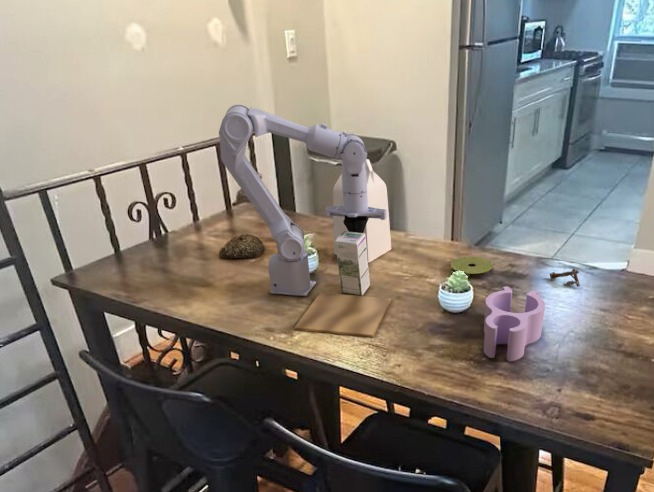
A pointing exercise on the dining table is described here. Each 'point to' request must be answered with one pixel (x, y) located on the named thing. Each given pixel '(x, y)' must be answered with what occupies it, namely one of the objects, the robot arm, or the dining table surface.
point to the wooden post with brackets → (573, 272)
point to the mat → (472, 265)
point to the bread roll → (242, 247)
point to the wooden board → (344, 314)
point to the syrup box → (352, 262)
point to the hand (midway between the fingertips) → (357, 245)
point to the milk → (375, 228)
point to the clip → (512, 323)
